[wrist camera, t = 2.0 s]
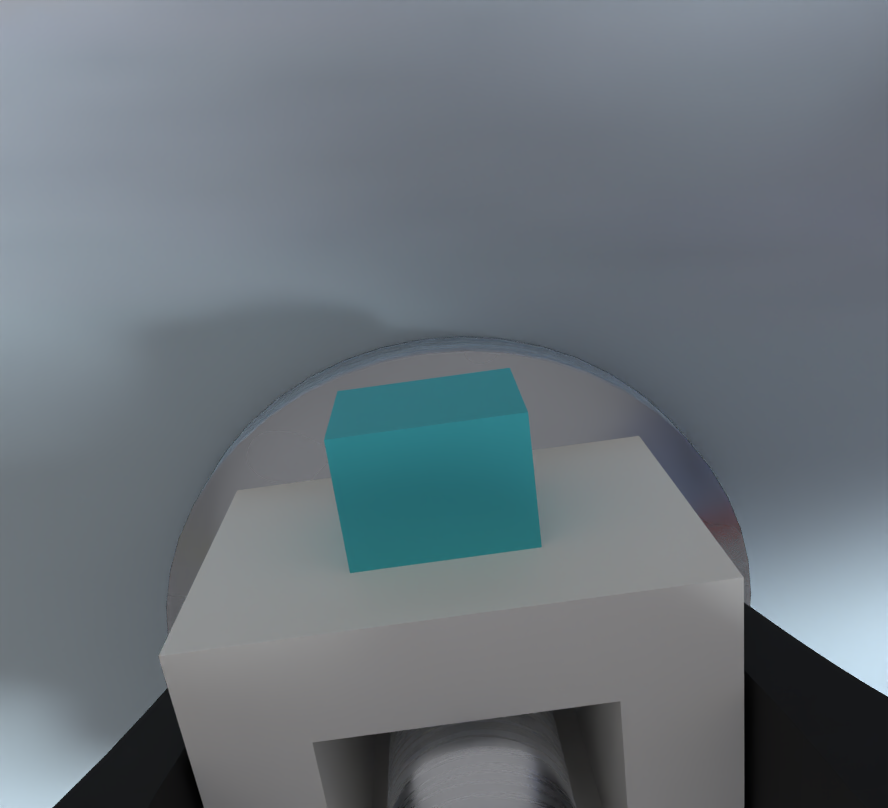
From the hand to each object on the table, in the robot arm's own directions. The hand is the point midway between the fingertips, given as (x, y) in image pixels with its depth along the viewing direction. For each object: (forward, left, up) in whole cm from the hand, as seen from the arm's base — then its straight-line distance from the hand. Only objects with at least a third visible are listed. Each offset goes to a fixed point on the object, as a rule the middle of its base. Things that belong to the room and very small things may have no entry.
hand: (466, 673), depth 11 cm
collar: (0, 0, -1) cm, 1 cm away
